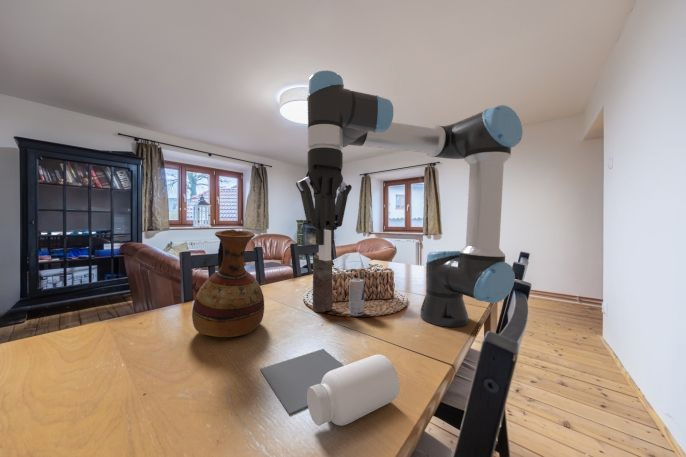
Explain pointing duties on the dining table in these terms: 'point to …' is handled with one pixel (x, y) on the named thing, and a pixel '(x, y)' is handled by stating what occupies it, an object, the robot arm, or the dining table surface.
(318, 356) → the mat
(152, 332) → the dining table surface
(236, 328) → the ceramic pitcher
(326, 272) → the candle
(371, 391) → the pill bottle
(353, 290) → the energy drink
